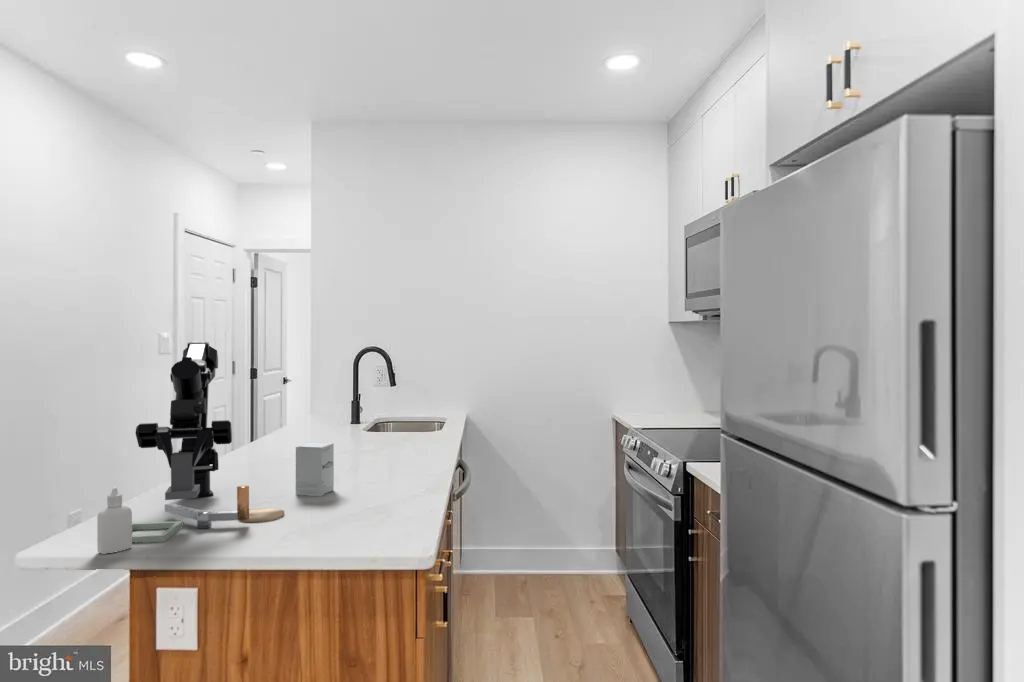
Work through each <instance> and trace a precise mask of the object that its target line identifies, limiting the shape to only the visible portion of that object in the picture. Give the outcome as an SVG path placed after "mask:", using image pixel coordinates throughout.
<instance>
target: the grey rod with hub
mask: <svg viewBox="0 0 1024 682" xmlns="http://www.w3.org/2000/svg"><path fill="white" fill-rule="evenodd" d="M236 504H237V505H236V508H237V509H236V510H228V511H227V510H226V511H225V510H223V511H211V510H201V509H197V508H193V507H188V506H185V505H180V504H177V503H174V502H171V503H170V502H169V503H166V504H164V512H165V513H168V514H173V515H176V516H180V517H182V518H183V517H184V518H188V519H191V520H195V521H196V528H198V529H207V528H210V527H212V525H213V524H212V522H223V521H225V522H226V521H229V522H230V521H240V522H242V521H244V520H248V519H249V510H250V486H249V485H239V486H236Z"/></svg>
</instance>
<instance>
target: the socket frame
mask: <svg viewBox="0 0 1024 682" xmlns="http://www.w3.org/2000/svg"><path fill="white" fill-rule="evenodd" d="M181 527H182V528H183V527H184V521H183V520H177V521H176V520H175V521H152V522H151V521H149V522H132V532H133V531H137V530H138V531H139V530H141V529H142V530H163V528H164V530H165V531H163V532H162V533H161V534H159V533H158V534H139V535H138V534H137V535H135V534H134V535H133V534H132V542H135V543H134V544H136V543H137V542H143V543H159V542H161V543H162V542H164V541H165V542H166V541H167V540H168V539H170V538H171V537H172V536H174V535H175V534H176V533H177V532H178V531H179V530H181V529H182V528H181ZM166 528H169V529H166ZM180 528H181V529H180Z"/></svg>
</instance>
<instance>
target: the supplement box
mask: <svg viewBox="0 0 1024 682" xmlns="http://www.w3.org/2000/svg"><path fill="white" fill-rule="evenodd" d="M334 444H335V443H332V442H307V443H305V444H301V445H299V446H298V445H297V446H295V496H303V495H309V496H308V497H322V496H323V495H326V494H328V493H329V492H332V490H333V491H334V490H335V489H334V486H335V485H334V479H335V477H334V474H335V473H334V470H335V468H334V465H335V464H334V463H335V462H334V458H335V457H334V455H335V453H334V451H335V450H334V448H335V447H334V446H335V445H334ZM325 493H326V494H325Z"/></svg>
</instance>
